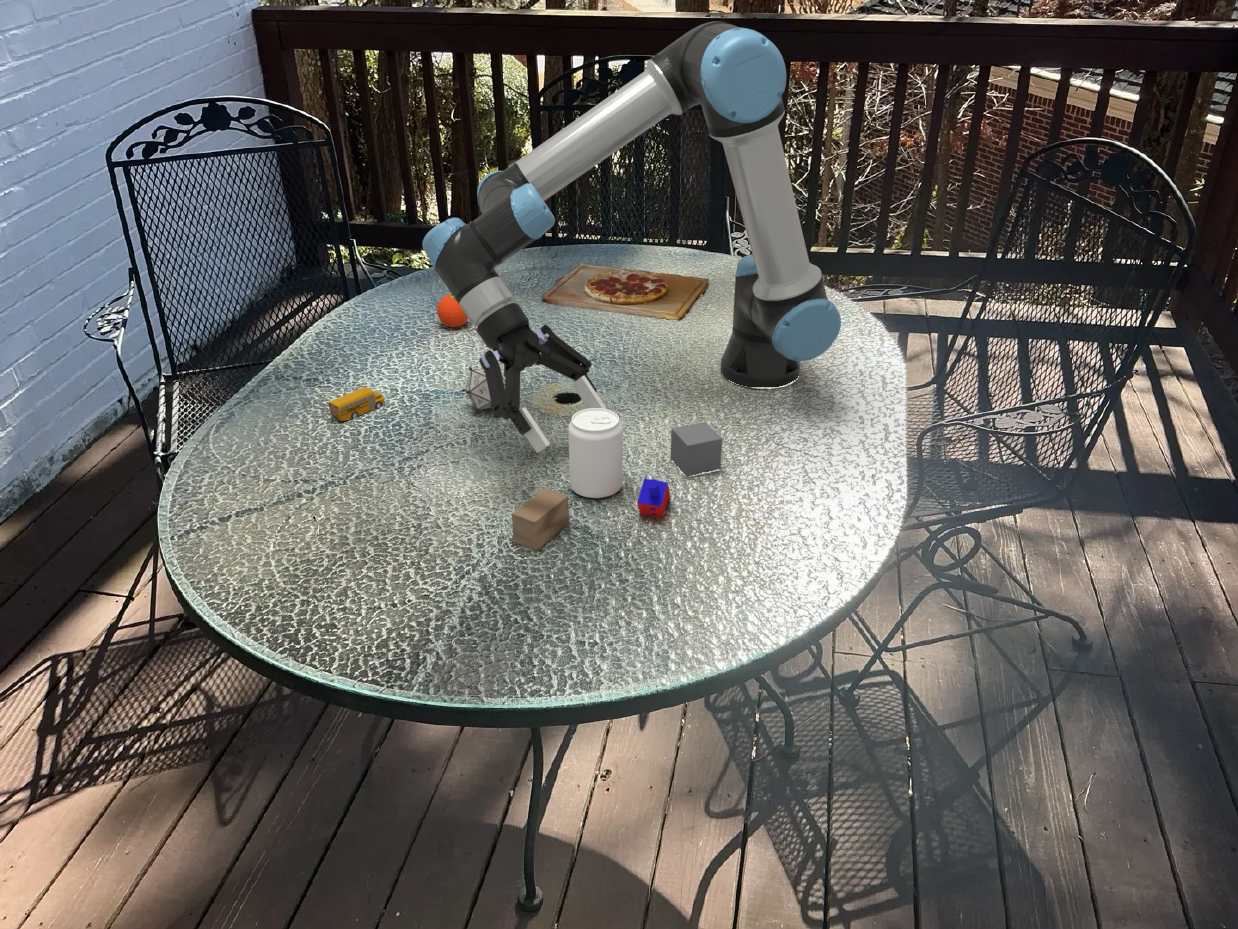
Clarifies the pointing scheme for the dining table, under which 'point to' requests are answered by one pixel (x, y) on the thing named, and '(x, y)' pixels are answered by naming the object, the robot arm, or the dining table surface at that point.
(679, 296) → the pizza
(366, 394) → the toy bus
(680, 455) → the grey cube
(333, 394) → the dining table surface
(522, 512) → the walnut brick
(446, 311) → the clementine
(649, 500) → the toy building block
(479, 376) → the game die
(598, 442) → the beverage can
